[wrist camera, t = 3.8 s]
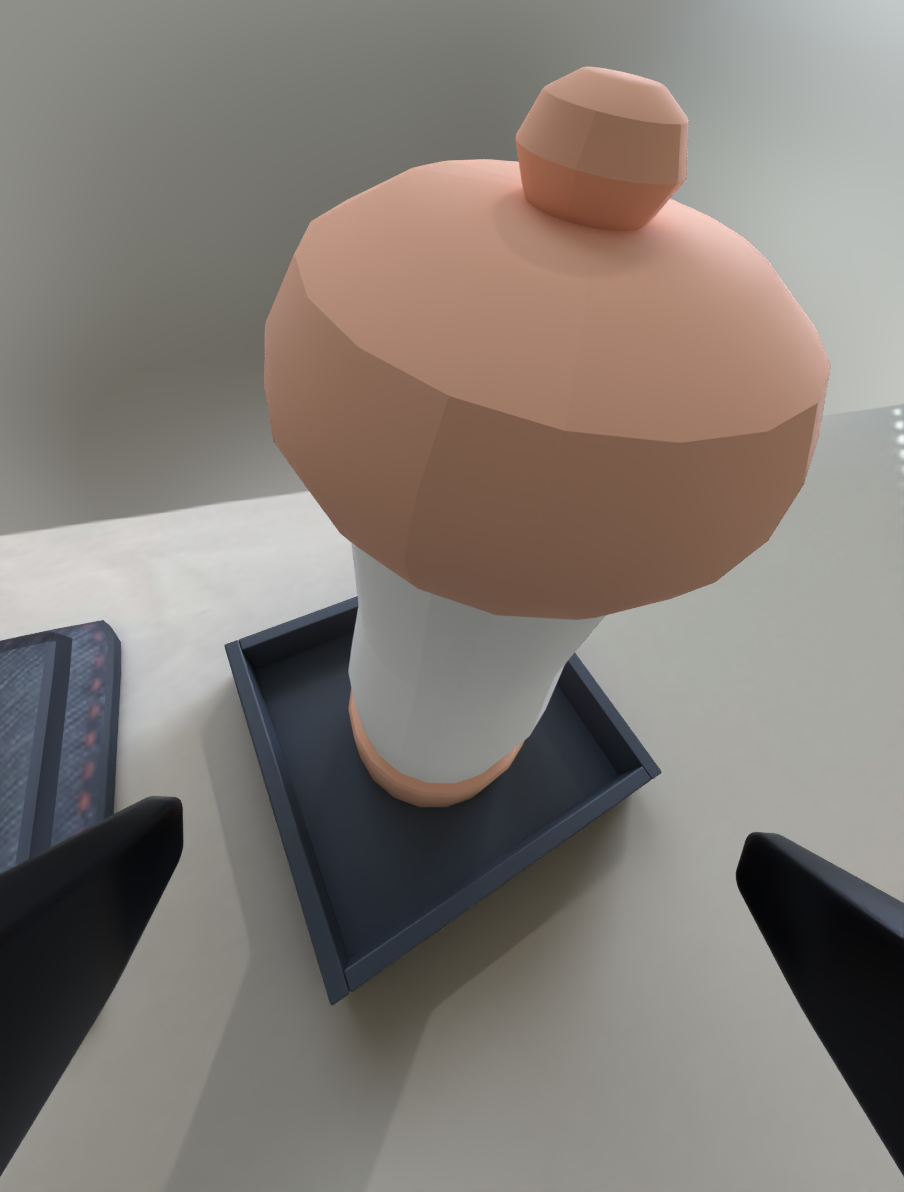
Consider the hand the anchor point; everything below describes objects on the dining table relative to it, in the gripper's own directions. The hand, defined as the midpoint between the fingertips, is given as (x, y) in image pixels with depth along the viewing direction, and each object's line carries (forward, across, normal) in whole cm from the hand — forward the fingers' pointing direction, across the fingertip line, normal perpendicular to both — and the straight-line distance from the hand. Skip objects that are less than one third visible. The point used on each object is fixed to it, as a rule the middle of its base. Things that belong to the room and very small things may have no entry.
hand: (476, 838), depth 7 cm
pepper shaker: (+12, 0, +5) cm, 13 cm away
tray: (+13, 0, +5) cm, 14 cm away
